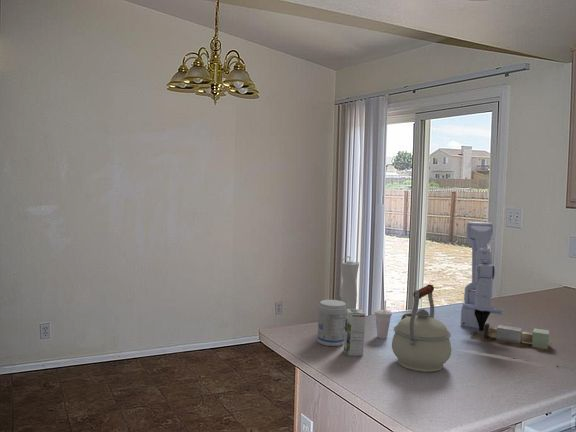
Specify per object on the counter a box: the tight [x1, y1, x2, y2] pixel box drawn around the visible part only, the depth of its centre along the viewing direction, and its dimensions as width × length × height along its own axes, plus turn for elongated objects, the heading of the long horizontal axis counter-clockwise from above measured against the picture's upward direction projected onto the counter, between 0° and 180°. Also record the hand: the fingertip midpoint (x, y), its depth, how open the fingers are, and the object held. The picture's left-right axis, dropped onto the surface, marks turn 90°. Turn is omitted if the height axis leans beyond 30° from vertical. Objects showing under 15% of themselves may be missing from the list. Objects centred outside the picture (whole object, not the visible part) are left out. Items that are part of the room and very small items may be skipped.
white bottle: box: [339, 256, 360, 319], centre depth 201 cm, size 8×8×28 cm
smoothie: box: [374, 300, 393, 339], centre depth 188 cm, size 6×6×14 cm
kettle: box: [391, 284, 452, 373], centre depth 160 cm, size 25×18×25 cm
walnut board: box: [469, 330, 552, 353], centre depth 186 cm, size 27×12×1 cm, turn 61°
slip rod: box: [483, 323, 533, 343], centre depth 186 cm, size 16×4×4 cm, turn 61°
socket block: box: [532, 327, 550, 349], centre depth 181 cm, size 5×6×5 cm
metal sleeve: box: [497, 324, 523, 344], centre depth 186 cm, size 8×5×5 cm, turn 61°
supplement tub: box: [317, 299, 346, 347], centre depth 178 cm, size 10×10×15 cm
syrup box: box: [343, 308, 366, 357], centre depth 168 cm, size 6×6×14 cm
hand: (481, 330), depth 191 cm, fingers closed
